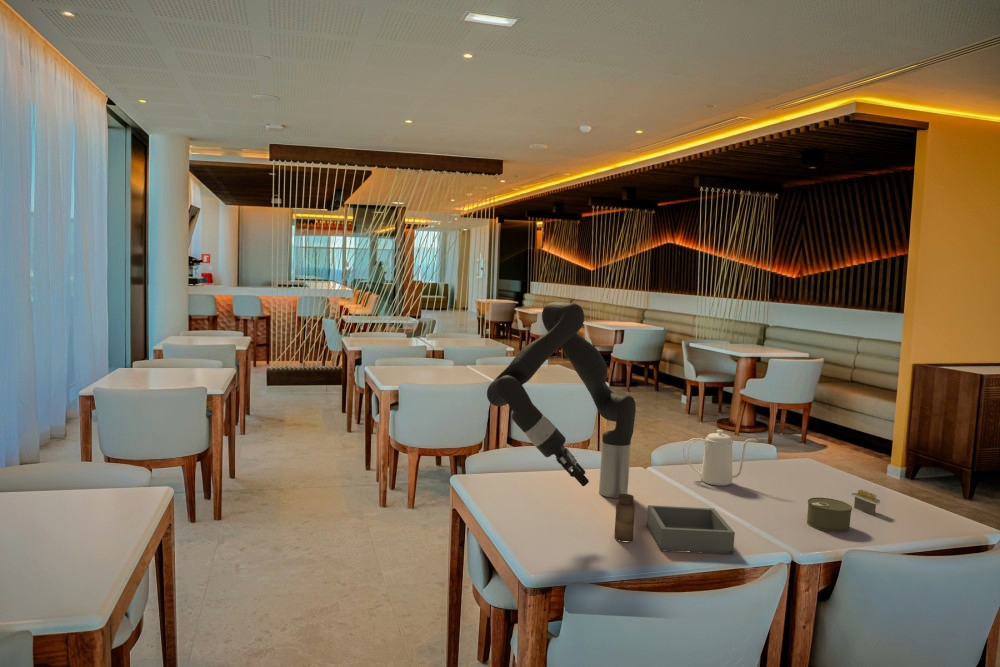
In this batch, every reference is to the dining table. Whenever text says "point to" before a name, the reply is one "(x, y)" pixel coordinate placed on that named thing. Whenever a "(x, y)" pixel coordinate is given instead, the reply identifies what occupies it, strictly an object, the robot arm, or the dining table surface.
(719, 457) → the coffeepot
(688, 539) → the serving bin
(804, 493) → the dining table surface
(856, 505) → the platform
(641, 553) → the dining table surface
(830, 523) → the can
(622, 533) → the pepper mill
